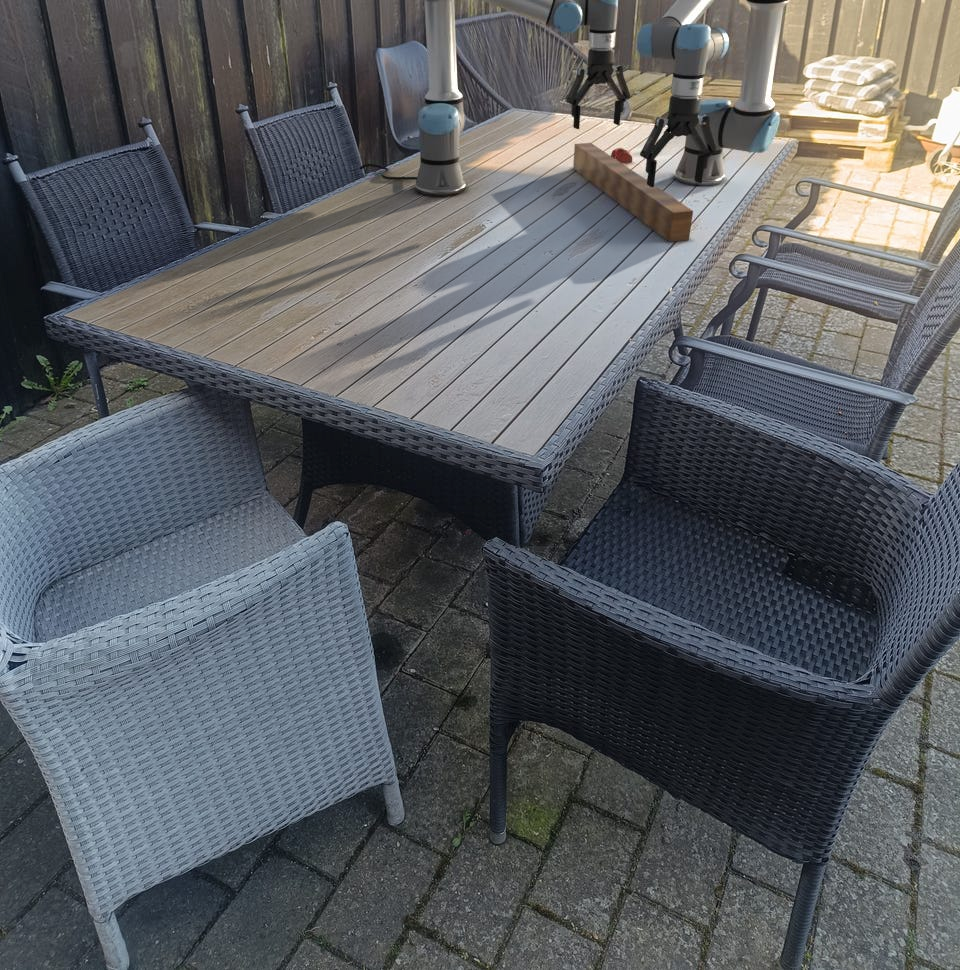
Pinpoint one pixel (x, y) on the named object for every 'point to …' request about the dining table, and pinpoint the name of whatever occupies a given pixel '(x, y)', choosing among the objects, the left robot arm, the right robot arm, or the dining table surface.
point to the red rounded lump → (622, 155)
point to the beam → (634, 193)
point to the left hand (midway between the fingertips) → (596, 126)
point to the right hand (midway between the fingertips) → (674, 183)
